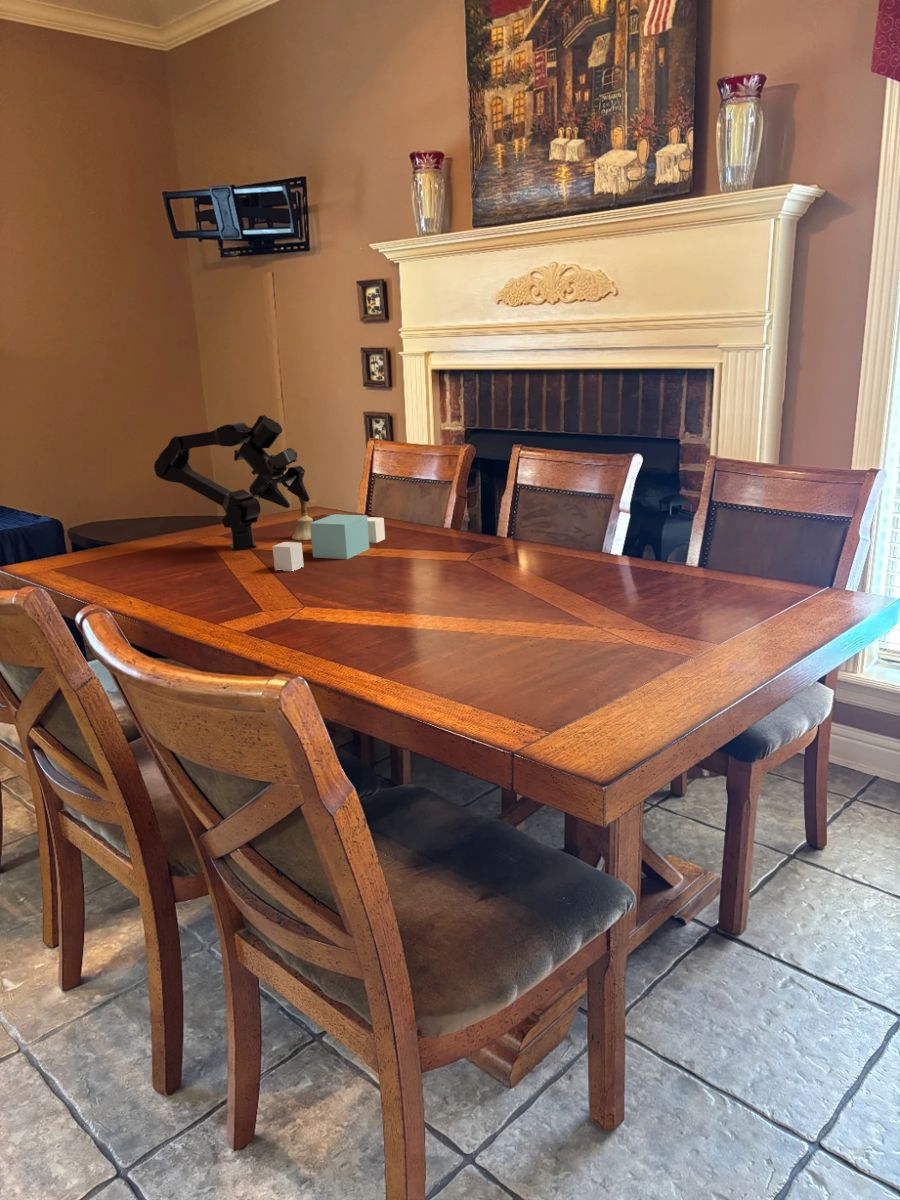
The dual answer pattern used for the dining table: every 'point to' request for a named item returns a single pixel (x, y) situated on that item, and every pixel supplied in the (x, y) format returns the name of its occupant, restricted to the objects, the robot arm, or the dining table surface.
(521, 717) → the dining table surface
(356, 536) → the teal block
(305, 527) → the hand bell
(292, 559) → the white block
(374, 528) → the cream block
